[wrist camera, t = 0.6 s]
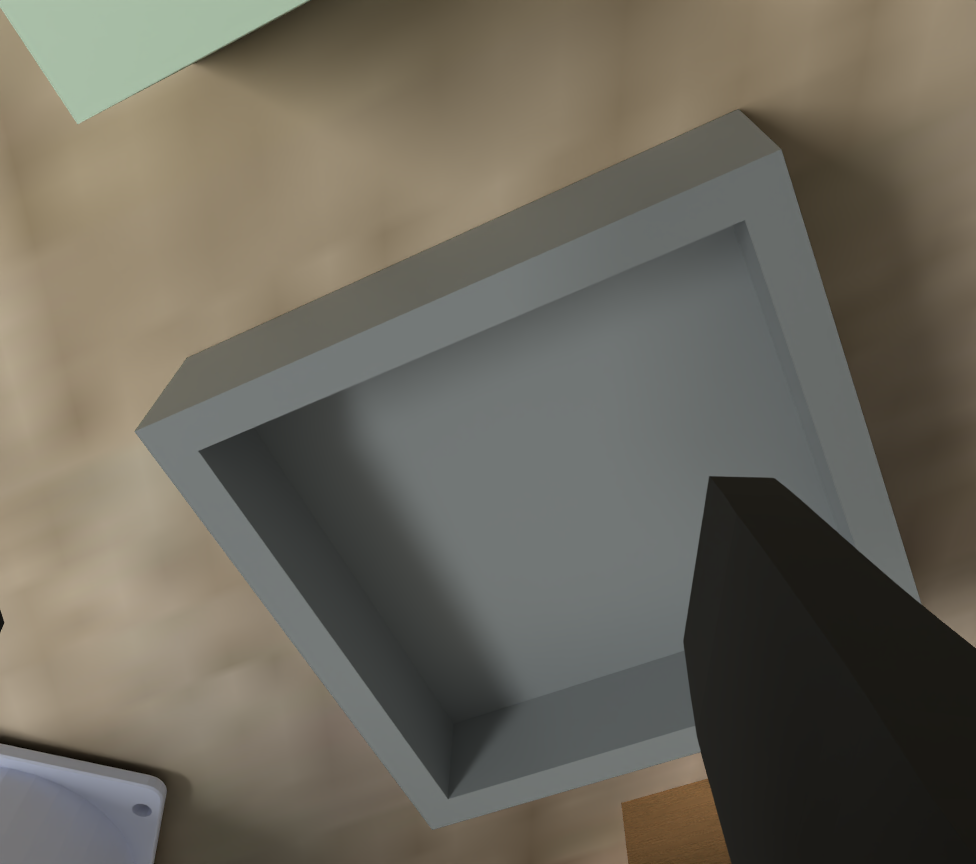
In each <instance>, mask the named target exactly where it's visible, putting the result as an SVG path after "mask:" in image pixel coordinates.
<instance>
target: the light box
mask: <svg viewBox="0 0 976 864" xmlns="http://www.w3.org/2000/svg"><path fill="white" fill-rule="evenodd" d="M309 1H311V0H0V7H1V9H2V11H3V12H4V14H5V15H6V17H7V18H8V20H9V21H10V23H11V24H12V26H13V27H14V29H15V30H16V32H17V33H18V35H19V36H20V38H21V39H22V41H23V42H24V44H25V45H26V47H27V48H28V50H29V51H30V53H31V54H32V56H33V57H34V59H35V60H36V62H37V63H38V65H39V67H40V68H41V70H42V71H43V73H44V74H45V76H46V77H47V79H48V80H49V82H50V83H51V85H52V86H53V88H54V89H55V91H56V92H57V94H58V95H59V97H60V98H61V100H62V101H63V103H64V104H65V106H66V107H67V109H68V110H69V112H70V113H71V115H72V116H73V118H74V119H75V121H76V122H77V124H79V123H81V122H83V121H85V120H87V119H89V118H90V117H92V116H94V115H96V114H98V113H100V112H102V111H104V110H106V109H108V108H109V107H111V106H113V105H115V104H117V103H119V102H121V101H123V100H125V99H127V98H129V97H130V96H132V95H134V94H136V93H138V92H140V91H142V90H144V89H146V88H148V87H149V86H151V85H153V84H155V83H157V82H159V81H161V80H163V79H165V78H167V77H169V76H170V75H172V74H174V73H176V72H178V71H180V70H182V69H184V68H186V67H188V66H190V65H191V64H193V63H195V62H197V61H199V60H201V59H203V58H204V57H206V56H208V55H210V54H212V53H214V52H216V51H218V50H219V49H221V48H223V47H225V46H227V45H229V44H231V43H232V42H234V41H236V40H238V39H240V38H242V37H244V36H245V35H247V34H249V33H251V32H253V31H255V30H257V29H258V28H260V27H262V26H264V25H266V24H268V23H270V22H271V21H273V20H275V19H277V18H279V17H281V16H283V15H285V14H286V13H288V12H290V11H292V10H294V9H296V8H298V7H299V6H301V5H303V4H305V3H307V2H309Z"/></svg>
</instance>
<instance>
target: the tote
mask: <svg viewBox="0 0 976 864" xmlns="http://www.w3.org/2000/svg"><path fill="white" fill-rule="evenodd" d="M135 433H136V434H137V435H138V437H139V438H140V439H141V441H142V442H143V443H144V445H145V446H146V448H147V449H148V450H149V452H150V453H151V454H152V456H153V457H154V458H155V460H156V461H157V462H158V464H159V465H160V466H161V468H162V469H163V470H164V472H165V473H166V474H167V476H168V477H169V478H170V480H171V481H172V482H173V484H174V485H175V486H176V488H177V489H178V490H179V492H180V493H181V494H182V496H183V497H184V498H185V500H186V501H187V502H188V504H189V505H190V506H191V508H192V509H193V510H194V512H195V513H196V514H197V516H198V517H199V518H200V520H201V521H202V522H203V524H204V525H205V526H206V528H207V529H208V530H209V532H210V533H211V534H212V536H213V537H214V538H215V540H216V541H217V542H218V544H219V545H220V546H221V548H222V549H223V551H224V552H225V553H226V555H227V556H228V557H229V559H230V560H231V561H232V563H233V564H234V565H235V567H236V568H237V569H238V571H239V572H240V573H241V575H242V576H243V577H244V579H245V580H246V581H247V583H248V584H249V585H250V587H251V588H252V589H253V591H254V592H255V593H256V595H257V596H258V597H259V599H260V600H261V601H262V603H263V604H264V605H265V607H266V608H267V609H268V611H269V612H270V613H271V615H272V616H273V617H274V619H275V620H276V621H277V623H278V624H279V625H280V627H281V628H282V629H283V631H284V632H285V633H286V635H287V636H288V637H289V639H290V640H291V641H292V643H293V644H294V645H295V647H296V648H297V650H298V651H299V652H300V654H301V655H302V656H303V658H304V659H305V660H306V662H307V663H308V664H309V666H310V667H311V668H312V670H313V671H314V672H315V674H316V675H317V676H318V678H319V679H320V680H321V682H322V683H323V684H324V686H325V687H326V688H327V690H328V691H329V692H330V694H331V695H332V696H333V698H334V699H335V700H336V702H337V703H338V704H339V706H340V707H341V708H342V710H343V711H344V712H345V714H346V715H347V716H348V718H349V719H350V720H351V722H352V723H353V724H354V726H355V727H356V728H357V730H358V731H359V732H360V734H361V735H362V736H363V738H364V739H365V740H366V742H367V743H368V744H369V746H370V747H371V749H372V750H373V751H374V753H375V754H376V755H377V757H378V758H379V759H380V761H381V762H382V763H383V765H384V766H385V767H386V769H387V770H388V771H389V773H390V774H391V775H392V777H393V778H394V779H395V781H396V782H397V783H398V785H399V786H400V787H401V789H402V790H403V791H404V793H405V794H406V795H407V797H408V798H409V799H410V801H411V802H412V803H413V805H414V806H415V807H416V809H417V810H418V811H419V813H420V814H421V815H422V817H423V818H424V819H425V821H426V822H427V823H428V825H429V826H430V827H431V829H432V830H434V829H437V828H441V827H444V826H447V825H451V824H454V823H458V822H461V821H465V820H468V819H472V818H475V817H478V816H482V815H485V814H489V813H492V812H496V811H499V810H503V809H506V808H509V807H513V806H516V805H520V804H523V803H527V802H530V801H534V800H537V799H540V798H544V797H547V796H551V795H554V794H558V793H561V792H565V791H568V790H571V789H575V788H578V787H582V786H585V785H589V784H592V783H596V782H599V781H602V780H606V779H609V778H613V777H616V776H620V775H623V774H627V773H630V772H633V771H637V770H640V769H644V768H647V767H651V766H654V765H658V764H661V763H664V762H668V761H671V760H675V759H678V758H682V757H685V756H689V755H692V754H695V753H699V752H701V750H700V747H699V743H698V739H697V734H696V728H695V721H694V715H693V708H692V702H691V695H690V688H689V681H688V674H687V666H686V659H685V651H684V644H683V639H684V633H685V626H686V620H687V613H688V607H689V601H690V594H691V588H692V582H693V575H694V569H695V563H696V556H697V550H698V544H699V537H700V531H701V525H702V518H703V512H704V506H705V499H706V493H707V487H708V480H709V476H724V477H764V478H775V479H776V480H778V481H779V482H780V483H781V484H783V485H784V486H785V487H786V488H788V489H789V490H790V491H791V492H792V493H794V494H795V495H796V496H797V497H798V498H799V499H801V500H802V501H803V502H804V503H805V504H806V505H807V506H809V507H810V508H811V509H812V510H813V511H814V512H815V513H816V514H818V515H819V516H820V517H821V518H822V519H823V520H824V521H826V522H827V523H828V524H829V525H830V526H831V527H832V528H833V529H835V530H836V531H837V532H838V533H839V534H840V535H841V536H842V537H844V538H845V539H846V540H847V541H848V542H849V543H850V544H852V545H853V546H854V547H855V548H856V549H857V550H858V551H859V552H861V553H862V554H863V555H864V556H865V557H866V558H867V559H869V560H870V561H871V562H872V563H873V564H874V565H876V566H877V567H878V568H879V569H880V570H881V571H882V572H884V573H885V574H886V575H887V576H888V577H889V578H891V579H892V580H893V581H894V582H895V583H896V584H898V585H899V586H900V587H901V588H902V589H904V590H905V591H906V592H907V593H908V594H909V595H911V596H912V597H913V598H914V599H915V600H917V601H918V602H919V603H920V604H921V601H920V598H919V595H918V591H917V588H916V585H915V582H914V578H913V575H912V572H911V569H910V565H909V562H908V559H907V556H906V552H905V549H904V546H903V543H902V539H901V536H900V533H899V530H898V526H897V523H896V520H895V517H894V513H893V510H892V507H891V504H890V501H889V497H888V494H887V491H886V488H885V484H884V481H883V478H882V475H881V471H880V468H879V465H878V462H877V458H876V455H875V452H874V449H873V445H872V442H871V439H870V436H869V432H868V429H867V426H866V423H865V419H864V416H863V413H862V410H861V406H860V403H859V400H858V397H857V393H856V390H855V387H854V384H853V380H852V377H851V374H850V371H849V367H848V364H847V361H846V358H845V354H844V351H843V348H842V345H841V341H840V338H839V335H838V332H837V328H836V325H835V322H834V319H833V315H832V312H831V309H830V306H829V302H828V299H827V296H826V293H825V290H824V286H823V283H822V280H821V277H820V273H819V270H818V267H817V264H816V260H815V257H814V254H813V251H812V247H811V244H810V241H809V238H808V234H807V231H806V228H805V225H804V221H803V218H802V215H801V212H800V208H799V205H798V202H797V199H796V195H795V192H794V189H793V186H792V182H791V179H790V176H789V173H788V169H787V166H786V163H785V160H784V156H783V153H782V150H781V148H779V147H778V146H777V145H776V144H775V143H774V142H773V141H772V140H771V139H770V138H769V137H768V136H767V135H766V134H765V133H764V132H762V131H761V130H760V129H759V128H758V127H757V126H756V125H755V124H754V123H753V122H752V121H751V120H750V119H749V118H748V117H747V116H745V115H744V114H743V113H742V112H741V111H740V110H739V109H737V110H735V111H733V112H731V113H729V114H726V115H724V116H722V117H720V118H717V119H715V120H713V121H711V122H709V123H706V124H704V125H702V126H700V127H698V128H695V129H693V130H691V131H689V132H686V133H684V134H682V135H680V136H678V137H675V138H673V139H671V140H669V141H667V142H664V143H662V144H660V145H658V146H655V147H653V148H651V149H649V150H647V151H644V152H642V153H640V154H638V155H636V156H633V157H631V158H629V159H627V160H624V161H622V162H620V163H618V164H616V165H613V166H611V167H609V168H607V169H605V170H602V171H600V172H598V173H596V174H593V175H591V176H589V177H587V178H585V179H582V180H580V181H578V182H576V183H573V184H571V185H569V186H567V187H565V188H562V189H560V190H558V191H556V192H554V193H551V194H549V195H547V196H545V197H542V198H540V199H538V200H536V201H534V202H531V203H529V204H527V205H525V206H523V207H520V208H518V209H516V210H514V211H511V212H509V213H507V214H505V215H503V216H500V217H498V218H496V219H494V220H492V221H489V222H487V223H485V224H483V225H480V226H478V227H476V228H474V229H472V230H469V231H467V232H465V233H463V234H461V235H458V236H456V237H454V238H452V239H449V240H447V241H445V242H443V243H441V244H438V245H436V246H434V247H432V248H429V249H427V250H425V251H423V252H421V253H418V254H416V255H414V256H412V257H410V258H407V259H405V260H403V261H401V262H398V263H396V264H394V265H392V266H390V267H387V268H385V269H383V270H381V271H379V272H376V273H374V274H372V275H370V276H367V277H365V278H363V279H361V280H359V281H356V282H354V283H352V284H350V285H348V286H345V287H343V288H341V289H339V290H336V291H334V292H332V293H330V294H328V295H325V296H323V297H321V298H319V299H317V300H314V301H312V302H310V303H308V304H305V305H303V306H301V307H299V308H297V309H294V310H292V311H290V312H288V313H286V314H283V315H281V316H279V317H277V318H274V319H272V320H270V321H268V322H266V323H263V324H261V325H259V326H257V327H254V328H252V329H250V330H248V331H246V332H243V333H241V334H239V335H237V336H235V337H232V338H230V339H228V340H226V341H223V342H221V343H219V344H217V345H215V346H212V347H210V348H208V349H206V350H204V351H201V352H199V353H197V354H195V355H192V356H190V357H188V358H186V360H185V361H184V363H183V364H182V365H181V367H180V368H179V370H178V371H177V372H176V374H175V375H174V377H173V378H172V379H171V381H170V382H169V384H168V385H167V386H166V388H165V389H164V391H163V392H162V393H161V395H160V396H159V398H158V399H157V400H156V402H155V403H154V405H153V406H152V408H151V409H150V410H149V412H148V413H147V415H146V416H145V417H144V419H143V420H142V422H141V423H140V424H139V426H138V427H137V429H136V430H135ZM921 605H922V604H921Z"/></svg>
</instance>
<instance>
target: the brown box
mask: <svg viewBox="0 0 976 864" xmlns="http://www.w3.org/2000/svg"><path fill="white" fill-rule="evenodd" d="M621 804H622V812H623V821H624V829H625V838H626V846H627V855H628V863H629V864H731V861H730V857H729V853H728V850H727V846H726V843H725V839H724V835H723V832H722V828H721V824H720V821H719V817H718V814H717V810H716V806H715V803H714V799H713V795H712V791H711V788H710V784H709V780H708V779H705V780H701V781H698V782H694V783H691V784H687V785H684V786H680V787H677V788H673V789H670V790H666V791H663V792H659V793H655V794H652V795H648V796H645V797H641V798H638V799H634V800H631V801H627V802H624V803H621Z"/></svg>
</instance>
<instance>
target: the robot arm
mask: <svg viewBox="0 0 976 864" xmlns="http://www.w3.org/2000/svg"><path fill="white" fill-rule="evenodd" d="M3 625H4V620H3V617H2V614H1V611H0V632H1V629H2V627H3ZM683 644H684V651H685V659H686V666H687V674H688V681H689V688H690V695H691V702H692V708H693V715H694V721H695V728H696V734H697V739H698V743H699V747H700V750H701V754H702V758H703V762H704V766H705V769H706V773H707V777H708V780H709V784H710V788H711V791H712V795H713V799H714V803H715V806H716V810H717V814H718V817H719V821H720V824H721V828H722V832H723V835H724V839H725V843H726V846H727V850H728V853H729V857H730V861H731V864H976V648H975V647H973V646H972V645H971V644H970V643H968V642H967V641H966V640H965V639H963V638H962V637H961V636H960V635H958V634H957V633H956V632H955V631H953V630H952V629H951V628H950V627H948V626H947V625H946V624H945V623H943V622H942V621H941V620H940V619H938V618H937V617H936V616H935V615H933V614H932V613H931V612H930V611H929V610H927V609H926V608H925V607H924V606H923V605H921V604H920V603H919V602H918V601H917V600H915V599H914V598H913V597H912V596H911V595H909V594H908V593H907V592H906V591H905V590H904V589H902V588H901V587H900V586H899V585H898V584H896V583H895V582H894V581H893V580H892V579H891V578H889V577H888V576H887V575H886V574H885V573H884V572H882V571H881V570H880V569H879V568H878V567H877V566H876V565H874V564H873V563H872V562H871V561H870V560H869V559H867V558H866V557H865V556H864V555H863V554H862V553H861V552H859V551H858V550H857V549H856V548H855V547H854V546H853V545H852V544H850V543H849V542H848V541H847V540H846V539H845V538H844V537H842V536H841V535H840V534H839V533H838V532H837V531H836V530H835V529H833V528H832V527H831V526H830V525H829V524H828V523H827V522H826V521H824V520H823V519H822V518H821V517H820V516H819V515H818V514H816V513H815V512H814V511H813V510H812V509H811V508H810V507H809V506H807V505H806V504H805V503H804V502H803V501H802V500H801V499H799V498H798V497H797V496H796V495H795V494H794V493H792V492H791V491H790V490H789V489H788V488H786V487H785V486H784V485H783V484H781V483H780V482H779V481H778V480H776V479H775V478H764V477H724V476H709V480H708V487H707V493H706V499H705V506H704V512H703V518H702V525H701V531H700V537H699V544H698V550H697V556H696V563H695V569H694V575H693V582H692V588H691V594H690V601H689V607H688V613H687V620H686V626H685V633H684V639H683ZM166 793H167V789H166V786H165V784H164V783H163V781H161V780H160V779H159V778H157V777H154V776H151V775H147V774H142V773H138V772H133V771H128V770H124V769H119V768H114V767H109V766H105V765H100V764H95V763H91V762H86V761H81V760H76V759H72V758H67V757H62V756H57V755H53V754H48V753H43V752H39V751H34V750H29V749H24V748H20V747H15V746H10V745H6V744H1V743H0V864H154V860H155V854H156V849H157V843H158V838H159V832H160V827H161V821H162V816H163V810H164V805H165V799H166Z"/></svg>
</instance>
